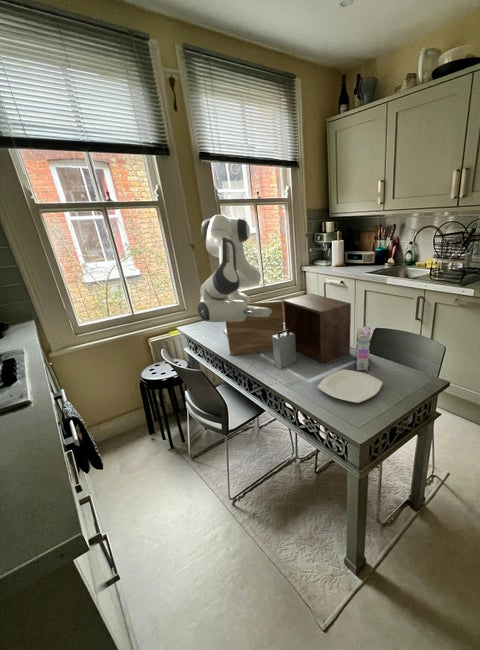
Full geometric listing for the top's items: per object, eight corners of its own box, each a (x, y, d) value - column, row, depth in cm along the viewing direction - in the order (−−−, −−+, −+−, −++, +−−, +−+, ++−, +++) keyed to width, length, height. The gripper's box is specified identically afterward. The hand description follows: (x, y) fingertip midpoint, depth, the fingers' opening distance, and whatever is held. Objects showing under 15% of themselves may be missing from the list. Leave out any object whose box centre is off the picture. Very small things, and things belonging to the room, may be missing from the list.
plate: (360, 411, 112) (360, 407, 111) (309, 391, 126) (309, 387, 125) (389, 385, 128) (390, 381, 127) (341, 369, 142) (342, 366, 141)
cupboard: (322, 366, 146) (321, 311, 135) (286, 349, 166) (283, 300, 155) (349, 355, 156) (350, 303, 145) (312, 340, 176) (310, 293, 165)
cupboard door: (231, 349, 168) (224, 302, 157) (284, 344, 171) (280, 297, 161) (230, 355, 162) (223, 305, 151) (285, 349, 165) (281, 300, 155)
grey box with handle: (274, 365, 149) (271, 331, 142) (289, 359, 154) (287, 326, 147) (281, 369, 145) (278, 334, 138) (296, 363, 150) (294, 329, 143)
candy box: (368, 371, 139) (370, 337, 133) (355, 370, 141) (356, 336, 134) (369, 358, 152) (370, 325, 145) (356, 357, 153) (357, 325, 146)
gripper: (253, 304, 121) (280, 304, 131) (223, 301, 135) (249, 301, 145) (253, 321, 123) (279, 319, 132) (223, 315, 136) (249, 315, 146)
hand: (263, 310), depth 139 cm, fingers open, 8 cm apart
